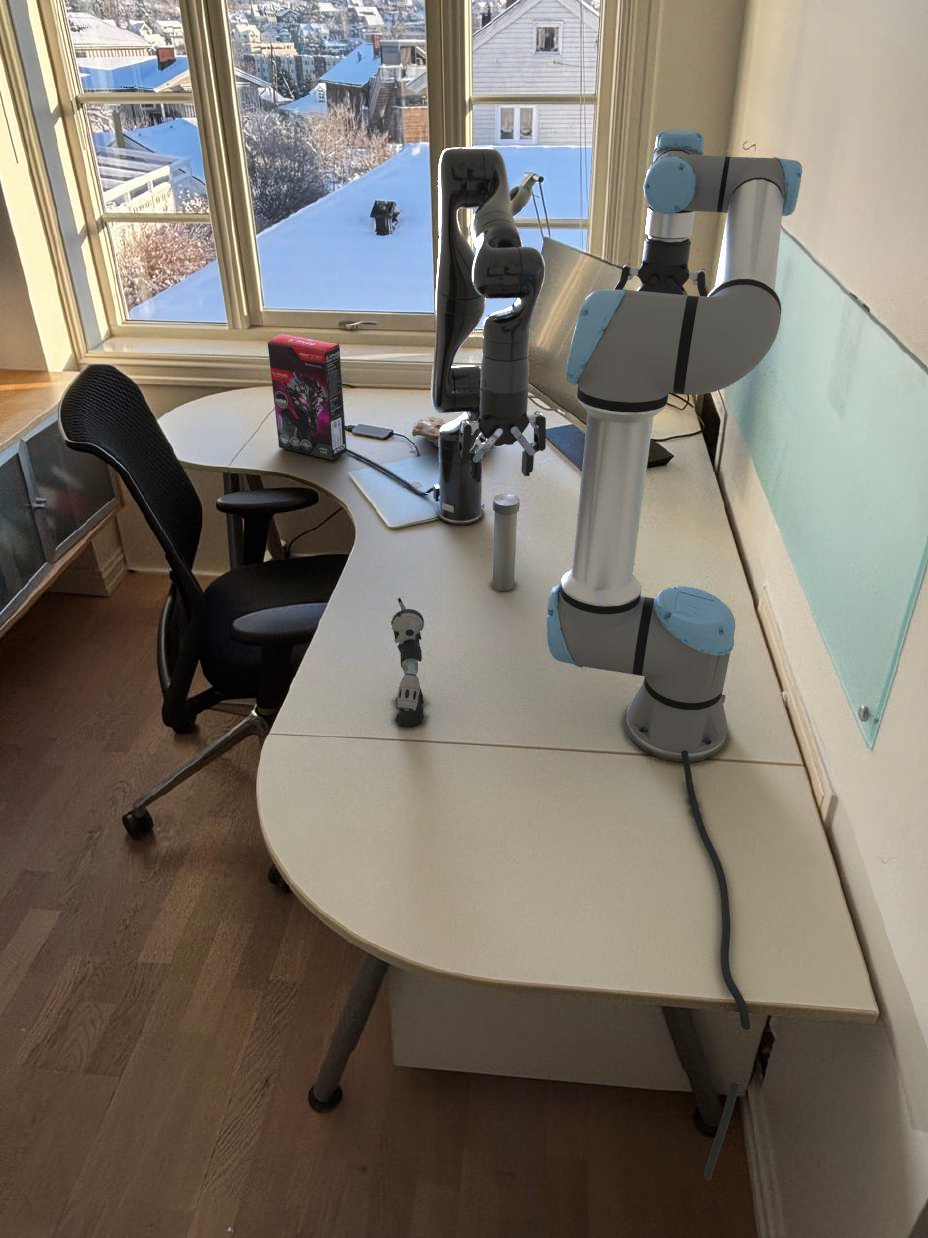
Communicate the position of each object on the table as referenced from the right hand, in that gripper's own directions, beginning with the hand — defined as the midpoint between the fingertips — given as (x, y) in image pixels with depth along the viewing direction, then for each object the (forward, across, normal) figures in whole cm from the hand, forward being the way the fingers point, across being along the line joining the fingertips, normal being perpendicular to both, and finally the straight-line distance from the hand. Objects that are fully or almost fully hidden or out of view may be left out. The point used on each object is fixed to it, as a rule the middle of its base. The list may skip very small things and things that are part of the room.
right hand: (652, 364), depth 163 cm
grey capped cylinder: (+41, +22, +15) cm, 49 cm away
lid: (+23, +22, +15) cm, 35 cm away
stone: (+41, +51, -46) cm, 80 cm away
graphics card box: (+41, +83, -34) cm, 98 cm away
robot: (+41, +28, +56) cm, 75 cm away
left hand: (+12, +21, +27) cm, 36 cm away
